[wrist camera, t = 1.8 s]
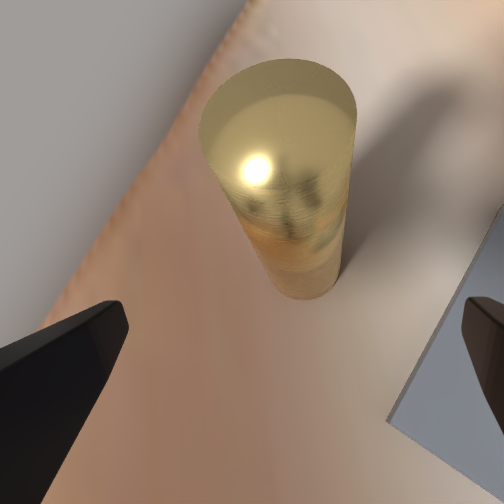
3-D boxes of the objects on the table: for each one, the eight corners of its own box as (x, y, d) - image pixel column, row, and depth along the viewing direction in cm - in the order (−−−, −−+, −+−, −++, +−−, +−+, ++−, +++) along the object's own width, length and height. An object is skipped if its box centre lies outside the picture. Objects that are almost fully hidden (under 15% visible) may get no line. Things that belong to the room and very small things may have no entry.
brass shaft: (315, 314, 20) (299, 215, 8) (255, 276, 22) (169, 148, 10) (353, 253, 21) (387, 85, 9) (292, 221, 23) (254, 43, 11)
